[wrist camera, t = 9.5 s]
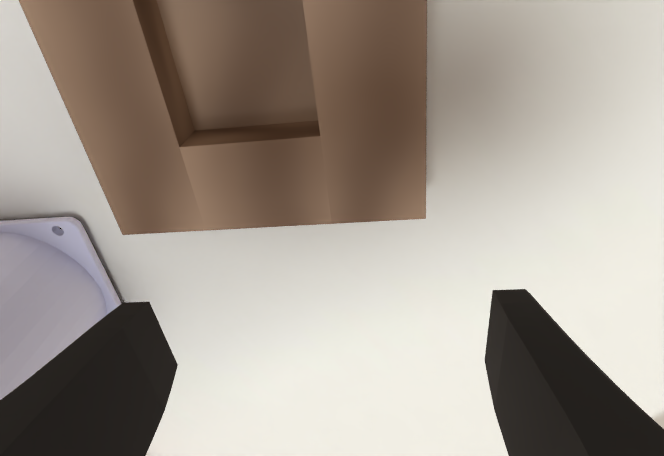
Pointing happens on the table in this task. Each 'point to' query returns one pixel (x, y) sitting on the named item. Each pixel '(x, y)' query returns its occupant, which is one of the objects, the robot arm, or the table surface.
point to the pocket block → (244, 108)
